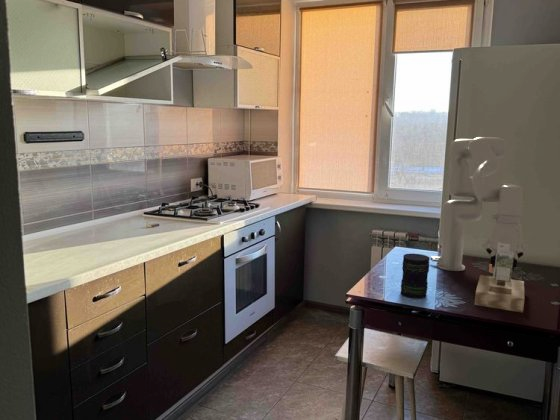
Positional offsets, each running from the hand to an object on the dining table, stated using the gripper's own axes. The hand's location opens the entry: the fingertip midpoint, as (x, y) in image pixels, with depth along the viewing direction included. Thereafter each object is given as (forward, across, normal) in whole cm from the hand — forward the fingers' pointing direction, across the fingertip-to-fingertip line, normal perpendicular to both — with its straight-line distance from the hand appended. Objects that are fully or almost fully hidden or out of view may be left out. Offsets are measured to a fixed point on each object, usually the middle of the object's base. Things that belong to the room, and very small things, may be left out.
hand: (502, 267), depth 184 cm
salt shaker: (+14, -2, +45) cm, 47 cm away
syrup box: (+5, 0, 0) cm, 5 cm away
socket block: (+14, 0, +6) cm, 15 cm away
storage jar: (+14, -30, -6) cm, 34 cm away
